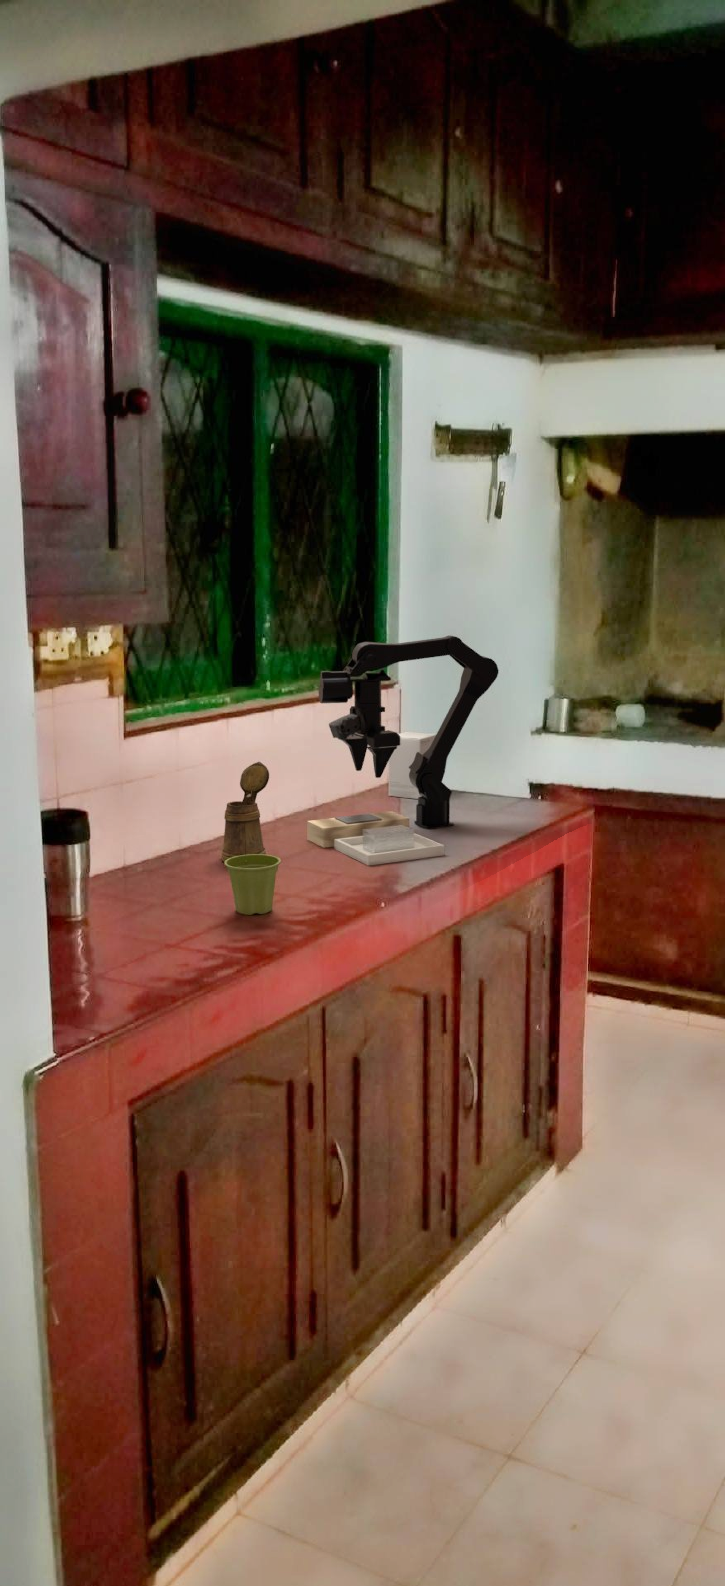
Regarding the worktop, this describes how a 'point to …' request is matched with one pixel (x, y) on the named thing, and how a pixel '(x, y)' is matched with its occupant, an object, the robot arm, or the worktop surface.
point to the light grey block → (388, 839)
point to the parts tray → (356, 851)
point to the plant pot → (253, 882)
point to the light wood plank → (350, 826)
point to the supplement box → (406, 763)
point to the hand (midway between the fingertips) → (368, 774)
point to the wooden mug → (245, 816)
